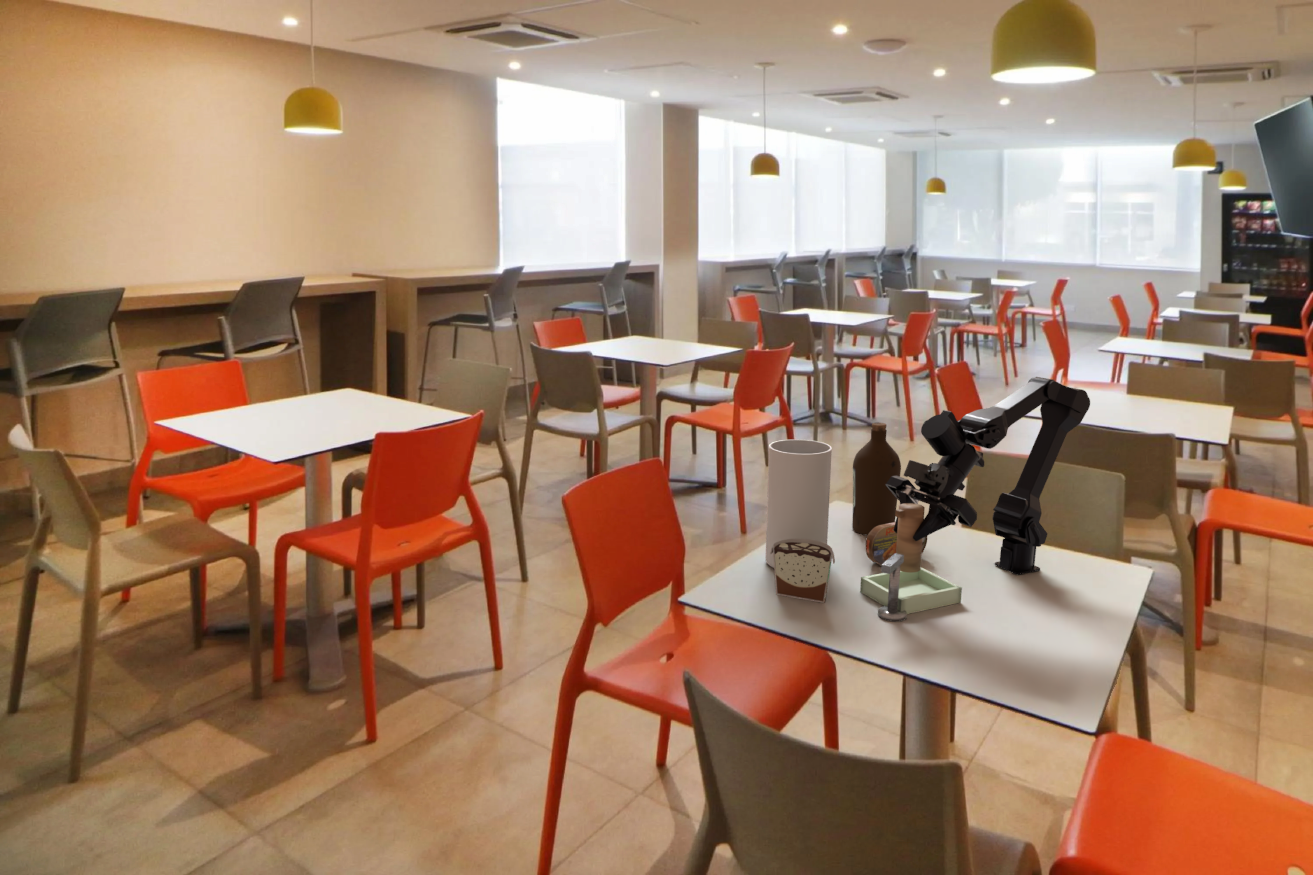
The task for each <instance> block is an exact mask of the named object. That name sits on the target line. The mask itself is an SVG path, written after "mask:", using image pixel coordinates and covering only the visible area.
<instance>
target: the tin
mask: <svg viewBox="0 0 1313 875" xmlns="http://www.w3.org/2000/svg"><path fill="white" fill-rule="evenodd" d="M895 522H896V521H895ZM895 522H893V523H888V524H883V525H878V526H876V527H875V528H873V529H872V530H871V531H870V533H869V534H868V535H866V536H867V537H866V539H865V553H866V554H865V555H866V556H867V558H868V559H869V560H870V561H872V562H873V563H875V564H876V565H879V566H881V565H882V564H883V563H884V562H885V561H886V560H888V559H889V558H890V557H891V556H892V555H894V554H895V553H896V545H897V533H895V532H894V526H895ZM927 543H928V536H926V537H924V538H923V540H922V554H923V553H924V551H925V549H926V547H927Z"/></svg>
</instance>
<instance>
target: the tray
mask: <svg viewBox="0 0 1313 875" xmlns="http://www.w3.org/2000/svg"><path fill="white" fill-rule="evenodd" d="M888 590H889V574H887V573H882V572H880V573H875V574H872V575H871V574H870V575H866V576H861V577H860V590H859V592H860V593H861V594H863V595H865V596H866V597H868V598H870V599H871V600H873V601H875V602H877V603H878V604H880V605H882V606H883V607H884V606H888ZM962 590H963V587H961V586H959V585H958V584H955V583H954V582H951V581H950V580H947V579H945V578H943V577H941V576H939V575H938V574H936V573H934V572H931V571H930V570H928V569H925V568H923V567H922V566H921V569H920V571H918V572H912V573H910V572H902V571H900V581H899V596H898V610H900V611H904V610H905V611H906V612H907V614H906V615H908V614H913V613H914V614H915V613H918V612H922V611H927V610H932V609H937V608H942V607H946V606H950V605H955V604H960V603H961V602H962V601H961V600H962V594H963V592H962Z"/></svg>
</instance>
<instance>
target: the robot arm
mask: <svg viewBox="0 0 1313 875" xmlns="http://www.w3.org/2000/svg"><path fill="white" fill-rule="evenodd" d="M1090 406H1091V399H1090V396H1089V395H1088V393H1087V391H1086V390H1084V389H1081V388H1077V387H1070V386H1066V385H1065V384H1062V383H1060V382H1059V381H1056V380H1055V379H1052V378H1045V377H1040V376H1034V377H1031V378H1030V379H1028V382H1027V383H1026V384H1024V385H1022V386H1021V387H1019V389H1017V390H1016V391H1013V392H1012V393H1011V394H1009V395H1008V396H1007V397H1005V398H1003V399H1002V400H1000V401H999V402H997V403H996V404H994V405H993V406H990V407H986V408H981V409H975V410H973V411H971V412H969V413H966V414H965V415H963V417H962V418H961V419H959V420H957V417H956V415H955V414H954V413H953V412H952V411H950V410H945V409H943V410H942V411H941V412H940V413H939V414H936V415H933V416H932V417H930V418H929V419H927V420H925V421H924V422H923V424H922V426H921V429H920V431H921V435H922V437H923V438H925V441H927V443H928V444H929V445H930V447H931V449H933V452H935V453H936V454H937V455H939V456H940V457H941V458H940V459H939V461H938V462H937V463H935V462H934V463H933V462H931V463H930V464H924V463H921V462H918V461H915V460H912V459H909V460H908V463H907V466H906V468H905V470H904V473H903V476H904V477H906V478H904V477H902V476H900V477H899V476H891V478H890V479H889V480H888V482H887V483H886V486H887V487H888V489H889V490H890V491H891V492H892V493H893V495H894V496H895V497H896V498H897V501H899V505H900V504H904V503H914V504H919V502H921V503H924V504H927V505H928V506H929V507H928V511H927V514H926V516H924V520H923V521H922V523H921V524H920V526H919V527H918V529H917V530H916V532H915V534H914V536H913V539H914V540H915V541H918V540H920V539H922V538H924V537H926V536H927V537H928V536H929V535H931V534H933V533H935V532H938V531H939V530H942V529H944V528H947V527H949V526H956V524H957V522H956V521H955V520H956V519H957V520H958V523H959V524H961V525H964V526H966V527H968V528H972V527H973V526H974V524H975V523H976V521H977V519H978V512H977V510H975V508H974V507H973V506H972V504H971V503H970V502H969V501H968V500H967V498H965V497H962V496H959V495H956V492H957V491H964V489H965V488H966V485H965V484H964V481H965V480H966V479H967V477H968V476H969V474H970V473H971V471H972V470H973V468H974V467H975V466H976V467H980V468H984V467H985V460H984V453H983V452H981V451H978V450H977V449H976V448H975V446H976V447H980V448H985V449H988V450H990V449H994V448H995V447H996V446H997V445H999V444H1000V442H1001V441H1003V439H1005V438H1006V437H1007V434H1008V429H1009V428H1010V427H1012V426H1013V424H1015V423H1017V422H1018V421H1020V420H1021V419H1023V418H1024V417H1025V416H1027V415H1028V414H1030V413H1031V412H1033V411H1034V410H1035V409H1037V408H1038V407H1040V409H1039V410H1040V416H1041V422H1042V424H1041V426H1040V429H1039V432H1038V434H1037V436H1036V438H1035V441H1034V443H1033V446H1032V447H1031V450H1030V453H1028V454H1029V455H1028V457H1027V459H1026V461H1025V464H1024V466H1023V469H1022V471H1021V473H1020V475H1019V478H1018V480H1017V482H1016V485H1015V486H1014V489H1012V490H1011V491H1009V492H1008V493H1007V492H1001V494H1000V495H999V497H998V498H997V503H996V505H995V506H994V507H993V509H992V511H994V512H993V514H992V522H993V527H994V533H995V536H997V537H1001V538H1002V544H1001V547H1000V553H999V561H995V562H994V565H995V566H996V567H999V568H1001V569H1002V570H1005V571H1007V572H1009V573H1012V574H1014V575H1016V576H1019V575H1024V574H1029V573H1034V572H1039V571H1041V567H1039V566H1036V565H1035V564H1036V554H1037V547H1038V548H1040V547H1042V545H1043V544H1045V543H1046V540H1047V537H1048V532H1047V531H1046V530H1045V527H1043V526H1042V524H1041V523H1040V521H1041V517H1042V508H1041V501H1040V498H1041V495H1042V493H1043V490H1044V488H1045V485H1046V483H1047V481H1048V478H1049V476H1050V474H1051V473H1052V472H1051V471H1052V470H1053V468H1054V465H1055V462H1056V460H1057V458H1058V455H1059V453H1060V451H1061V449H1062V447H1063V444H1064V442H1065V440H1066V436H1067V435H1068V433H1069V432H1070V431H1072V430H1073V429H1075V428H1076V427H1077V426H1079V425H1080V424H1081V423H1082V421H1083V419H1084V418H1085V416H1086V414H1087V412H1088V411H1089V409H1090ZM908 477H909V478H911V479H913V480H914V482H913V483H914V484H915V485H914V484H913V483H912V482H911V480H909V479H908ZM915 486H917V487H918V488H919V489H917V488H916V487H915ZM897 529H898V517H896V518H895V526H894V532H895V533H897Z"/></svg>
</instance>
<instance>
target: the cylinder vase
mask: <svg viewBox="0 0 1313 875" xmlns="http://www.w3.org/2000/svg"><path fill="white" fill-rule="evenodd" d="M832 450H833V448H832V446H831V445H830V444H828V443H825V442H823V441H817V440H812V439H809V440H808V439H796V438H795V439H782V440H777V441H773V442H770V444H769V445H768V462H767V463H768V466H767V468H768V469H767V498H766V500H767V501H766V505H767V506H766V525H765V526H766V530H765V562H766V563H767V565H768V566H770V567H771V568H773V569H774V556H773V553H772V554H770V552H771V548H772V547H773V544H774V543H776V542H778V541H781V540H785V539H810V540H816V541H820V542H823V543H825V544H827V545H828V537H829V536H828V535H829V534H828V532H829V516H830V514H829V512H830V491H831V472H832V471H831V470H832Z"/></svg>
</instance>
